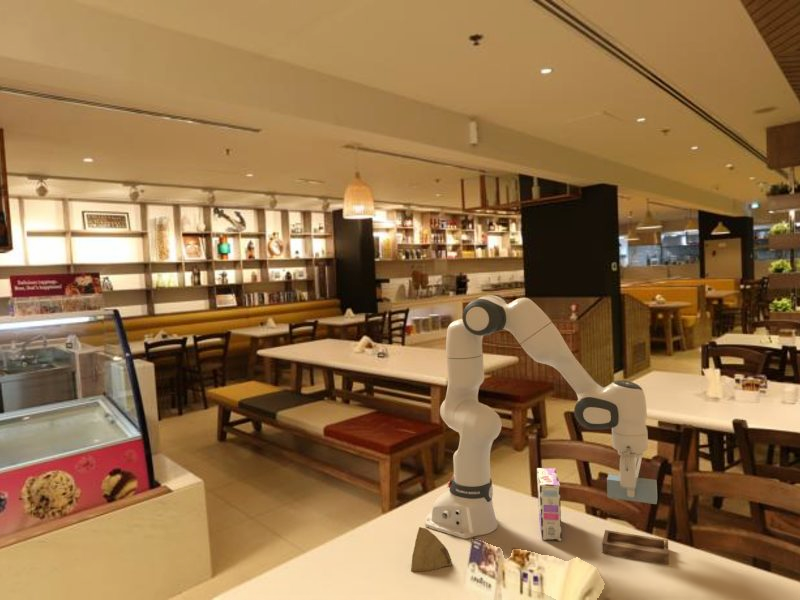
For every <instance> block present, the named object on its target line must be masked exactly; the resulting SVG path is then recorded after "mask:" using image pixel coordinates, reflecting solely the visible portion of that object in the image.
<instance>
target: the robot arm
mask: <svg viewBox="0 0 800 600" xmlns="http://www.w3.org/2000/svg"><path fill="white" fill-rule="evenodd" d="M503 330H506V331H508V332H509V333H511V335H513V337H514V338H515V339H516V340H517V342H518V343H519V345H520V346H521V348H522V349H523V350H524V352H525V353H526V355H528V356H529V357H530V358H531V359H532V360H533V361H534V362H536V363H538V364H542V365H548V366H550V367H552V368H554V369H555V370H557V371H558V372H559V373H560V374H561V376H562V377H563V378H564V380H565V381H566V382H567V383H568V384H569V386H571V388H572V390H573V391H574V392H575V394H576V396H577V401H576V403H575V406H574V409H573V410H574V411H573V414H574V417H575V420H576V421H577V422H578V423H579V425H580V426H582V427H583V428H585V429H587V430H593V431H595V430H608V429H611V439H612V440H611V441H612V444H611V445H612V448H613V449H614V450H616V451H617V454H618V455H619V456H620V457H619V475H620V485H621V487H623V488H627V495H628V496H629V497H634V496H635V488H636V483H637V479H638V478H639V473H640V469H641V466H642V465H641V464H642V460H643V459H642V458H643V456H644V452H645V453H646V452H647V451H648V450H649V438H648V437H649V436H648V435H649V434H648V427H647V425H646V419H647V417H648V414H647V413H648V412H647V411H648V410H647V401H646V400H647V399H646V395H645V393H644V389H643V388H642V387H641V385H639V384H638V383H635V382H632V381H629V380H622V379H621V380H614V381H613V382H611V383H609V384H608V385H607V386H605V385H603V384H602V383H600V382H598V381H597V380H596V379H595V378H594V377H592V376H591V374H589V372H588V371H587V370H586V368H585V367H584V366H583V365H582V364H581V362H580V361H579V360H578V359H577V358H576V357H575V355H574V353H572V351H571V349H570V348H569V346H568V345H567V343H566V341H565V339H564V338H563V336H562V334H561V333H560V331H559V330H558V328H557V326H556V325H555V324H554V323H553V321H552V320H551V319H550V317H549V316H548V315H547V314H546V313H545V311H543V310H542V309H541V307H539V306H538V304H536V303H535V302H534V301H533V300H532V299H530V298H528V297H520V298H517V299H515V300H513V301H511V302H508V300H507V299H506V298H505V297H503V296H501V295H498V294H490V295H489V294H488V295H482V296H480V297H478V298H476V299H474V300H472V301H470V302H468V304H466V306H465V308H464V309H463V312H462V318H460V319H456V320H453V321H452V322H450V324H449V325H448V327H447V330H446V338H445V340H446V341H445V356H446V357H445V358H446V367H447V369H446V370H447V389H446V395H445V399H444V400H443V401H442V403H441V404H440V408H439V414H440V415H439V416H440V417H441V420H442V421H443V422H444V423H445V424H446V425H447V426H448V428H450V429H451V430H453V431H455V432H457V433H458V434H459V444H458V448H457V450H455V452H454V453H453V455H452V456H453V457H452V460H453V461H452V462H453V463H452V464H453V475H452V476H451V478H450V479H449V480H448V482H447V483H446V485H447V490H446V491H445V492H444V493H442V494H441V495H439V496H438V497H437V498H436V499H435V501H434V502H433V505H432V509H431V511H430V512H429V513H428V514H427V515H426V517H425V519H424V526H425V528H426V527H427V528H428V527H429V528H428V529H433V530H434V531H438V532H442V533H444V534H448V535H451V536H455V537H458V538H461V539H464V540H465V539H471V538H473V537H477V536H484V535H488V534H490V533H493V532H494V531H496V529H498V527H499V523H498V521H497V518H496V514H495V509H494V505H493V496H494V495H493V494H494V492H493V491H494V489H493V488H494V487H493V483H492V482H493V481H492V478H491V463H490V460H491V459H490V455H491V450H492V446H493V443H494V440H496V439H497V438H498V436H499V435H500V433H501V430H502V426H503V425H502V420H501V417H500V415H499V414H498V413H497V412H496V411H495V410H494V409H493V408H491V407H490V406H489V405H487V404H484V403H481V402H480V401H479V390H480V387H481V385H482V384H483V383H484V382H485V369H484V367H485V366H484V365H485V364H484V355H483V354H484V353H483V338H484V336H489V335H491V334H494V333H498V332H501V331H503ZM448 488H449V489H448Z"/></svg>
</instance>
